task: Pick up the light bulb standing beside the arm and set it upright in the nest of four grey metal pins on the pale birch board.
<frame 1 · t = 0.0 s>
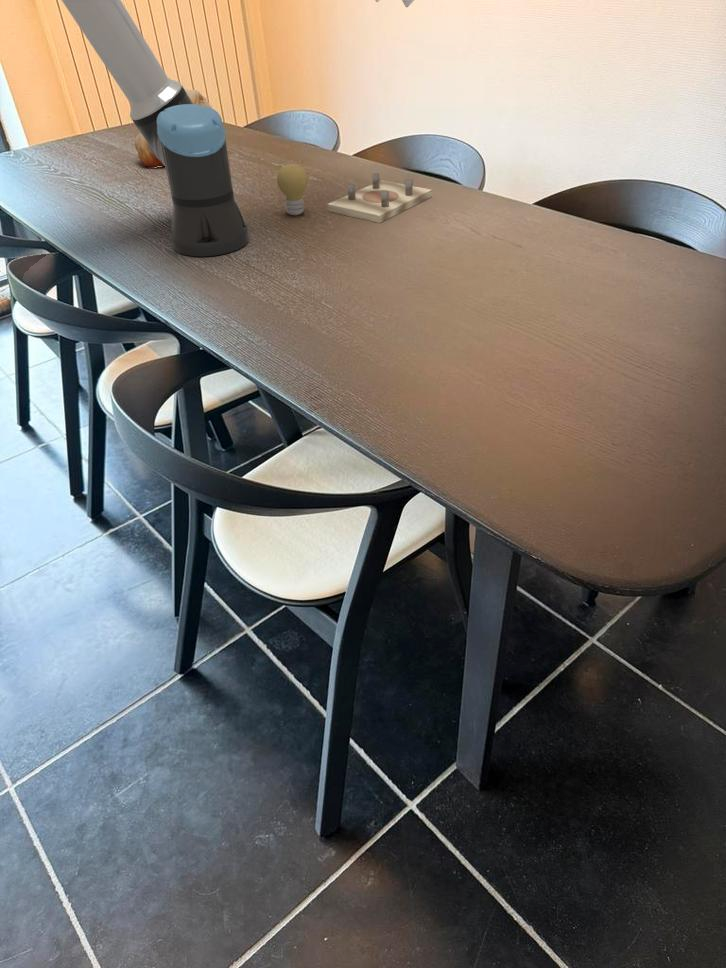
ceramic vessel: (181, 157, 184), on the table
light bulb: (295, 214, 146), on the table
pin nest: (380, 203, 149), on the table
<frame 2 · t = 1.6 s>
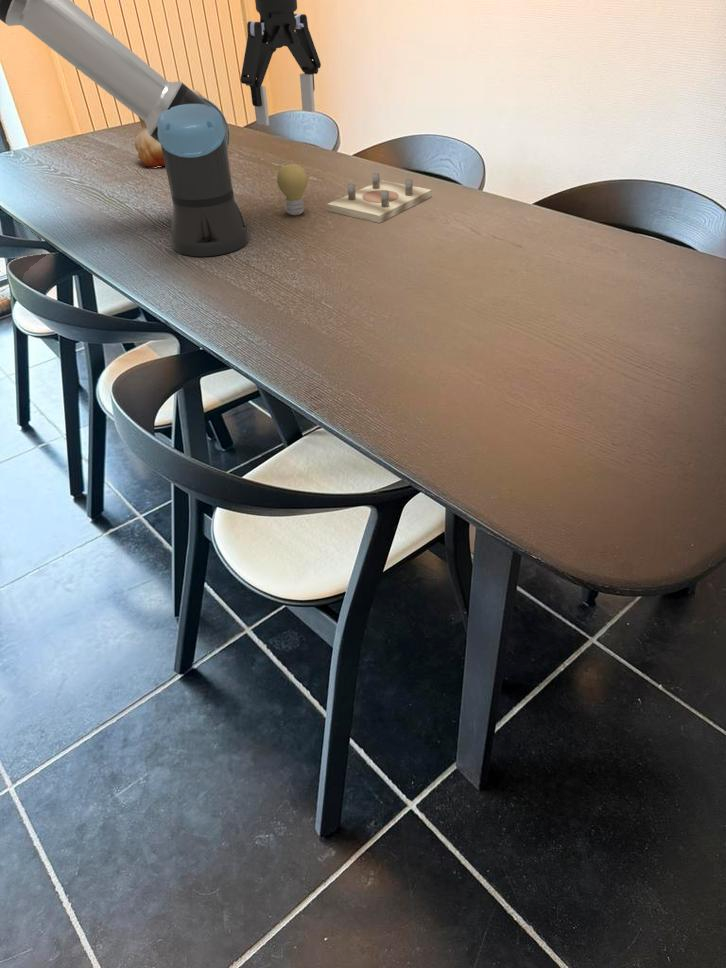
hand: (286, 117, 134), 19 cm above the table, tool pointing down, fingers open, 13 cm apart
nothing on the table moved.
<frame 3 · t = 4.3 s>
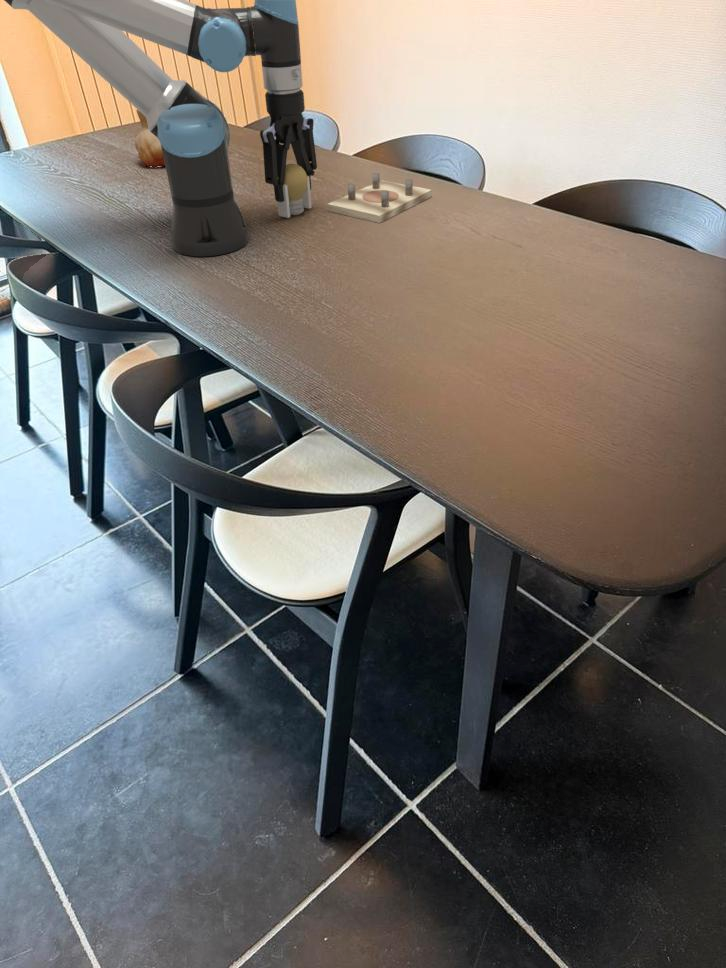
hand: (295, 211, 145), 0 cm above the table, tool pointing down, fingers closed on light bulb, 6 cm apart
light bulb: (295, 214, 146), on the table, touching gripper
everything else where it was.
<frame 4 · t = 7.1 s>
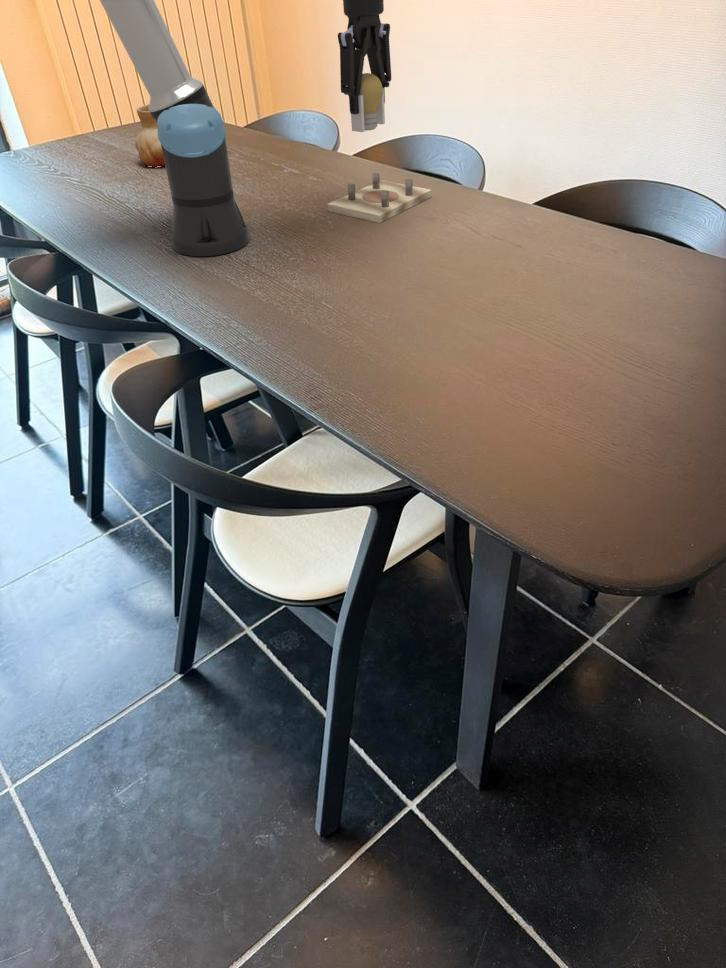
hand: (368, 127, 138), 16 cm above the table, tool pointing down, fingers closed on light bulb, 6 cm apart
light bulb: (368, 130, 139), point 15 cm above the table, touching gripper
everything else where it was.
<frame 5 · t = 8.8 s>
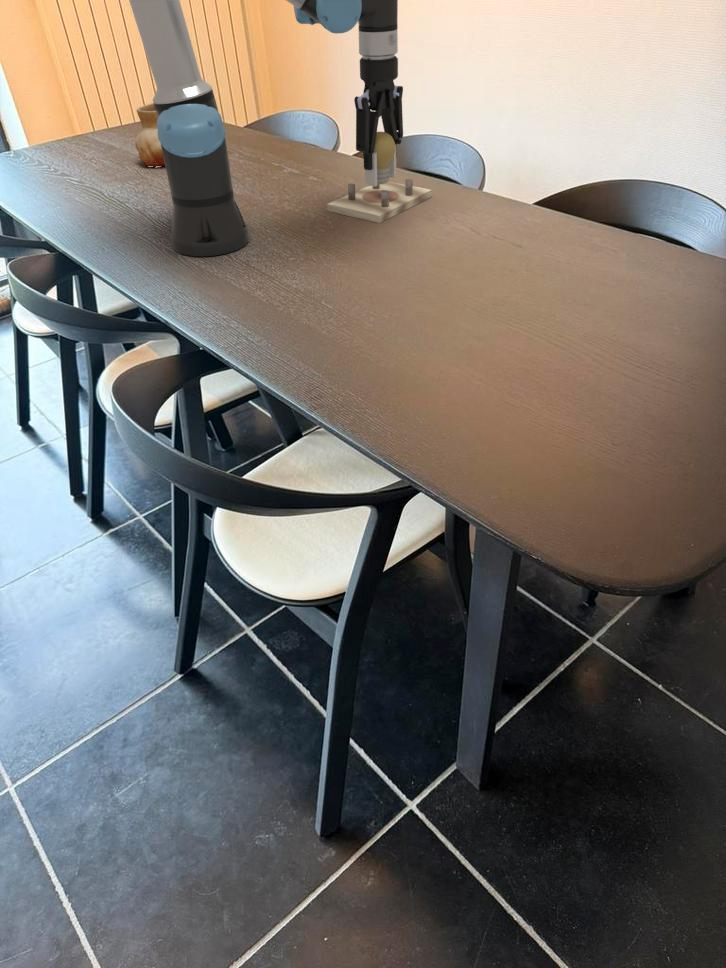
hand: (380, 180, 146), 5 cm above the table, tool pointing down, fingers closed on light bulb, 6 cm apart
light bulb: (380, 183, 146), point 4 cm above the table, touching gripper
everything else where it was.
when the fingers open (3 cm above the table, at t = 9.8 s): light bulb drops 1 cm, resting on pin nest.
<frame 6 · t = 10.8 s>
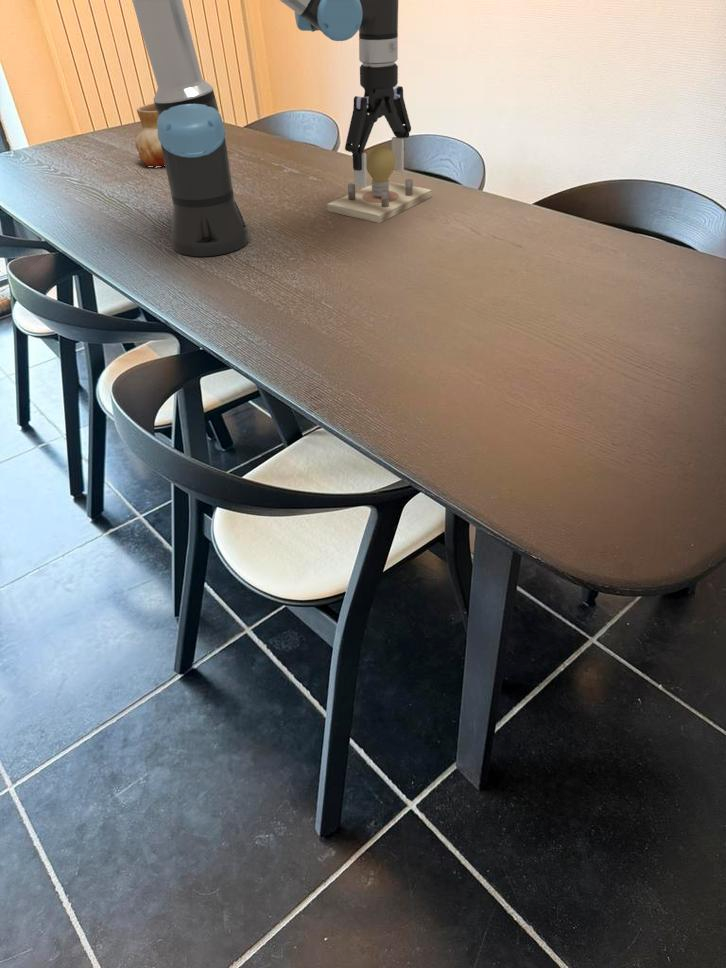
hand: (379, 177, 145), 5 cm above the table, tool pointing down, fingers open, 13 cm apart
light bulb: (380, 196, 148), point 2 cm above the table, touching pin nest
everything else where it was.
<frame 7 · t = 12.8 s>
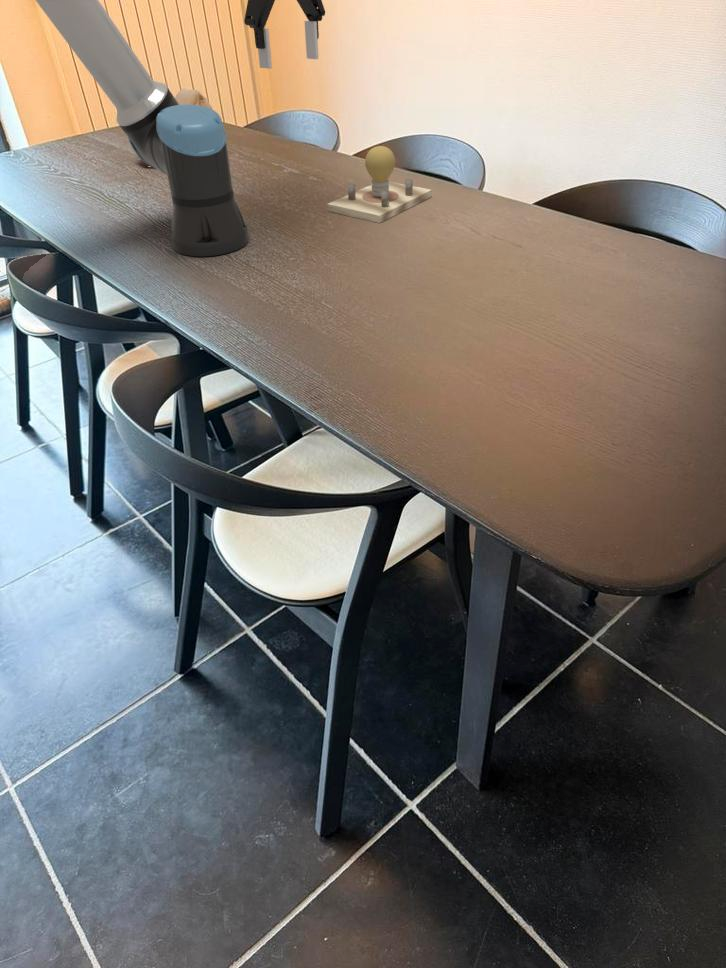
hand: (289, 63, 137), 26 cm above the table, tool pointing down, fingers open, 13 cm apart
nothing on the table moved.
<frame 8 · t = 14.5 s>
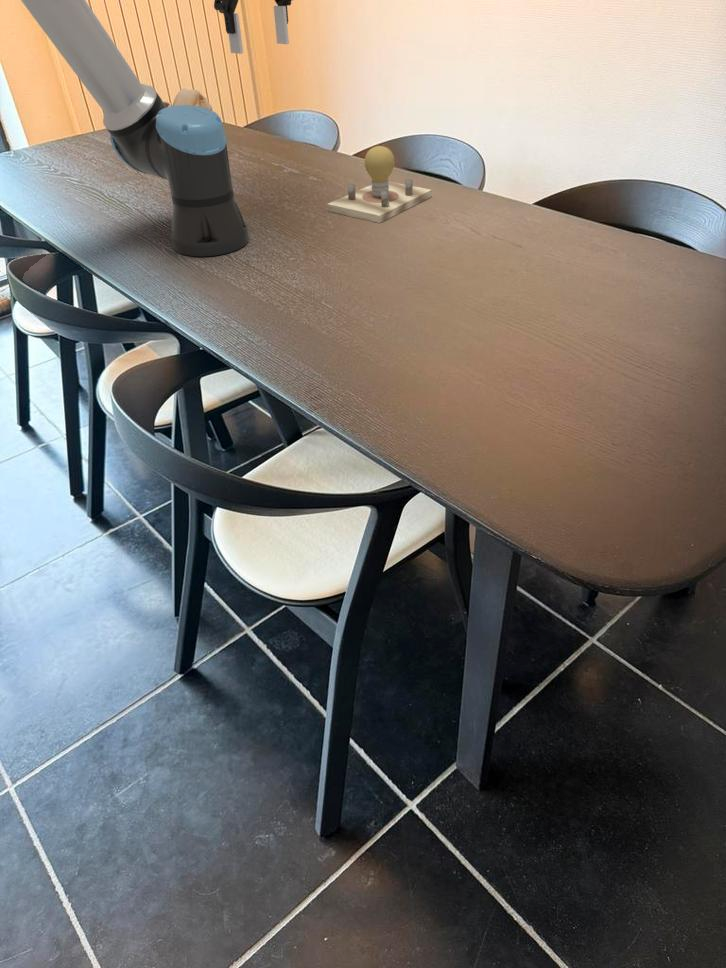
hand: (260, 48, 138), 29 cm above the table, tool pointing down, fingers open, 13 cm apart
nothing on the table moved.
at the end: light bulb 0.1 cm off-centre on the pin nest, point 1.5 cm above the pin nest's base; light bulb tilted 1°; the gripper is holding nothing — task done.
